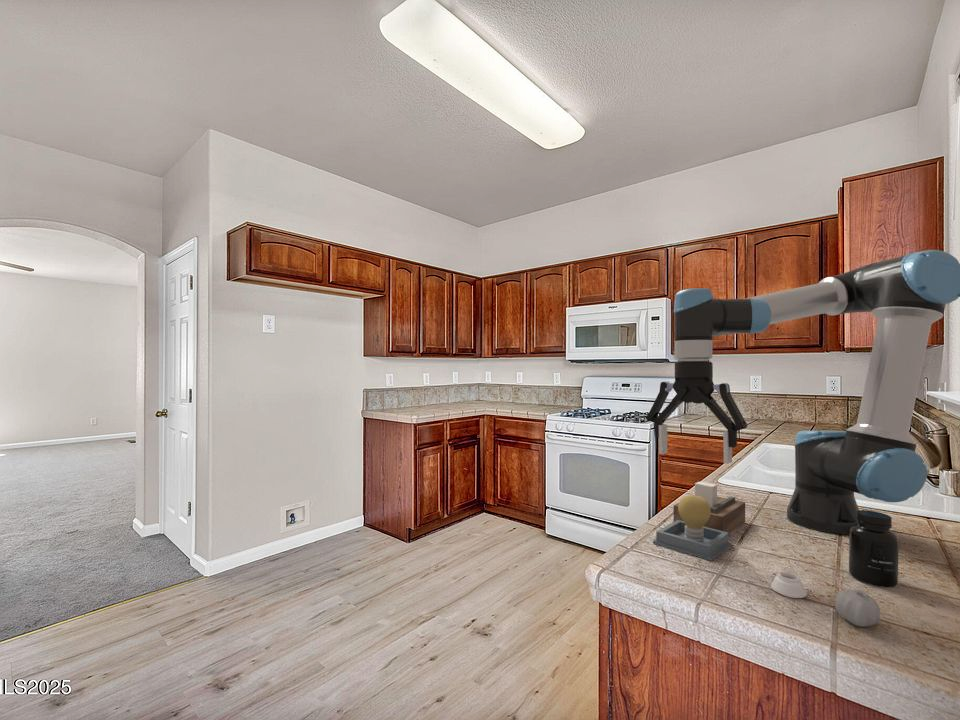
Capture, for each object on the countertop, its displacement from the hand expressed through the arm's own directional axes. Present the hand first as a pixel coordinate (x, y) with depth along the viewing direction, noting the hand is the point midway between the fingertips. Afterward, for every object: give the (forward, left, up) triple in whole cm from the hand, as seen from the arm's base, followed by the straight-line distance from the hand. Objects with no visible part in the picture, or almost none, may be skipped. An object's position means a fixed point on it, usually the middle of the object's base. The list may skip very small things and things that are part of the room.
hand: (693, 457), depth 98 cm
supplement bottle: (-29, -8, -19) cm, 35 cm away
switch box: (+2, -16, -19) cm, 25 cm away
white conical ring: (-19, +9, -19) cm, 29 cm away
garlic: (-29, +12, -19) cm, 37 cm away
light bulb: (0, 0, -18) cm, 18 cm away
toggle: (+2, -13, -13) cm, 19 cm away
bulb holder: (0, 0, -19) cm, 19 cm away
